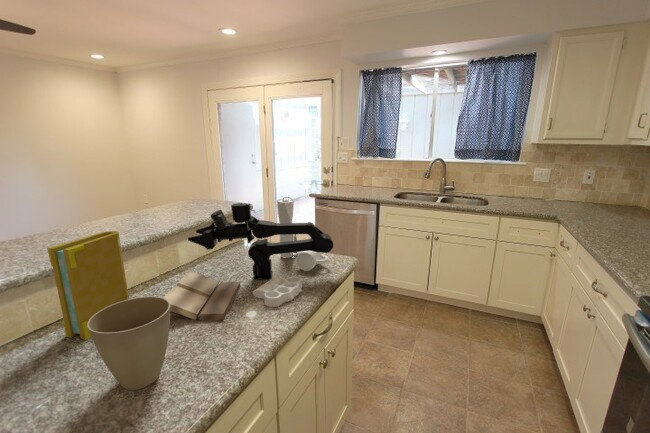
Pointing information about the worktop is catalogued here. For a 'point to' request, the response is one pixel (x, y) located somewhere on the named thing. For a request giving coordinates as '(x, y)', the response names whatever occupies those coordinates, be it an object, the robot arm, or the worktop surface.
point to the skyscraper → (286, 221)
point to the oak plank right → (198, 284)
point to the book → (88, 278)
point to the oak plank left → (185, 302)
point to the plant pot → (132, 339)
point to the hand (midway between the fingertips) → (192, 235)
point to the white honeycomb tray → (279, 290)
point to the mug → (310, 259)
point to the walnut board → (220, 301)
